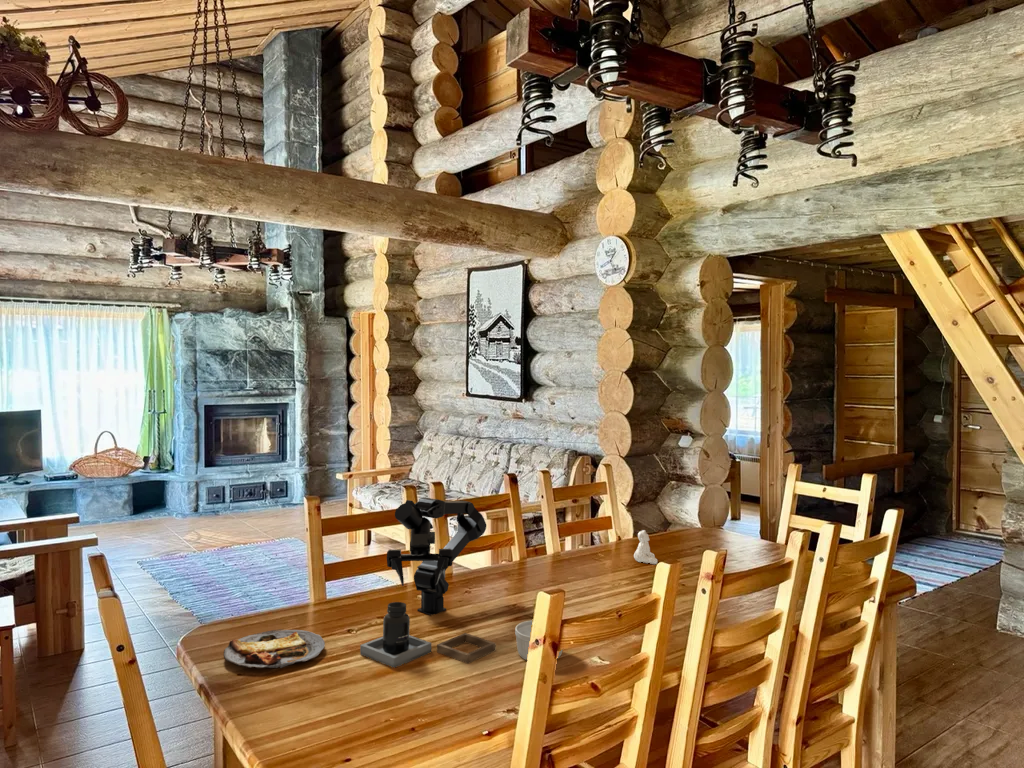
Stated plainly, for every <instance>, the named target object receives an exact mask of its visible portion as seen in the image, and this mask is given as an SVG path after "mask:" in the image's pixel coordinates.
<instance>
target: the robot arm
mask: <svg viewBox="0 0 1024 768" xmlns="http://www.w3.org/2000/svg"><path fill="white" fill-rule="evenodd" d="M455 514H456V522H457V532H456V533H455V534H454V536H453V537H452V538H451V539H450V540H449V541H448V543H446V544H445V546H444V547H443V548H439V549H438V553H431V545H434V544H436V532H435V531H431V530H432V529H433V528H434V525H433V524H432V523H431V521H430V520H429V518H430V519H436V520H437V519H439V518H443V517H444V516H446V515H455ZM394 517H395V519H396V520H397V522H399V523H400V524H402V526H404V527H405V528H406V529H407V530H410V541H409V553H402V549H388V550H387V552H386V565H387V567H388V568H391V570H394V571H395V572H396V573H397V575H398V577H399V581H400V585H401V586H402V587H404V586H405V585H404V583H405V578H404V570H403V562H421V563H420V565H418V566H417V567H416V570H415V572H414V575H413V581H414V585H415V589H416V590H417V591H420V595H421V597H420V598H421V599H420V600H421V601H420V602H421V603H420V604H421V605H420V608H419V607H418V608H417V612H421V613H422V614H425V615H429V616H434V614H435V615H437V614H440V613H443V612H445V611H447V608H446V607H445V606H444V603H445V601H444V595H446V592H448V591H449V587H450V586H449V585H450V584H449V582H447V580H446V570H447V569H448V568H449V567H452V566H453V562H454V560H455V559H457V557H458V556H459V555H460V553H462V551H463V550H464V548H466V546H468V543H470V542H473V541H475V540H478V539H479V538H480V537H482V536H483V535H484V533H485V531H486V529H487V522H486V519H485V518H484V516H483V515H482V513H481V512H480V511H479V510H477V508H475V505H474V504H473V502H471V501H466V500H458V501H456V500H455V501H454V500H452V501H451V500H450V501H449V500H447V501H445V500H442V499H438V498H432V497H431V498H429V497H420V498H419V500H418V501H417V502H416V503H415V502H414V501H413V500H409V499H406V500H405V502H404V503H402V504H401V505H399V506H398V507H397V508H396V509H395V511H394Z"/></svg>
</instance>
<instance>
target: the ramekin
mask: <svg viewBox="0 0 1024 768" xmlns="http://www.w3.org/2000/svg"><path fill="white" fill-rule="evenodd" d="M531 625H532V620H525V621H522V622H520V623H518V624H517V625H516V626H515V628H514V629H515V630H514V633H515V638H516V648H517V649H516V650H517V653H518V655H519V656H520V657H521V658H522V659H523V660H525V661H527V660H526V659H527V654H528V647H529V641H530V632H531ZM562 654H563V650H561V651H560V652H559V656H558V659H559V658H560V657H561V655H562Z"/></svg>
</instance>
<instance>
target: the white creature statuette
mask: <svg viewBox="0 0 1024 768" xmlns="http://www.w3.org/2000/svg"><path fill="white" fill-rule="evenodd" d="M637 538H638V540H639V543H638V545H637V548H636V550H635V551H634V554H633V558H634V560H635V561H636V562H638V563H641V562H643V563H642V564H648V563H650V564H649V565H657V564H658V559H657V558H656V557H655V554H654V553H653V552H651V547H650V544H649V541H650V537H649V534H648V533H647V532H646V530H645V529H642V530H640V531H639V532H638V533H637Z"/></svg>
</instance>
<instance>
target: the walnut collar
mask: <svg viewBox="0 0 1024 768" xmlns="http://www.w3.org/2000/svg"><path fill="white" fill-rule="evenodd" d="M465 643H467V644H471V645H473V646H476V647H479V648H476V649H474V650H472V651H470V652H468V653H467V652H465V651H462V650H459V649H456V648H455V647H457V646H459V645H462V644H465ZM452 647H453V648H452ZM496 651H497V642H494V641H491V640H488V639H485V638H482V637H479V636H476V635H474V634H470V633H468V632H464V633H462V634H458V635H457V636H454V637H452V638H450V639H447V640H445V641H442V642H439V643H438V644H436V653H438V654H441V655H443V654H444V655H443V656H446V657H449V658H451V657H452V658H451V659H454V658H455V660H457V659H458V660H457V661H460V662H463V663H465V664H469V663H472V662H474V661H476V660H478V659H481V658H483V657H485V656H486V655H489V654H491V653H494V652H496Z"/></svg>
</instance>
